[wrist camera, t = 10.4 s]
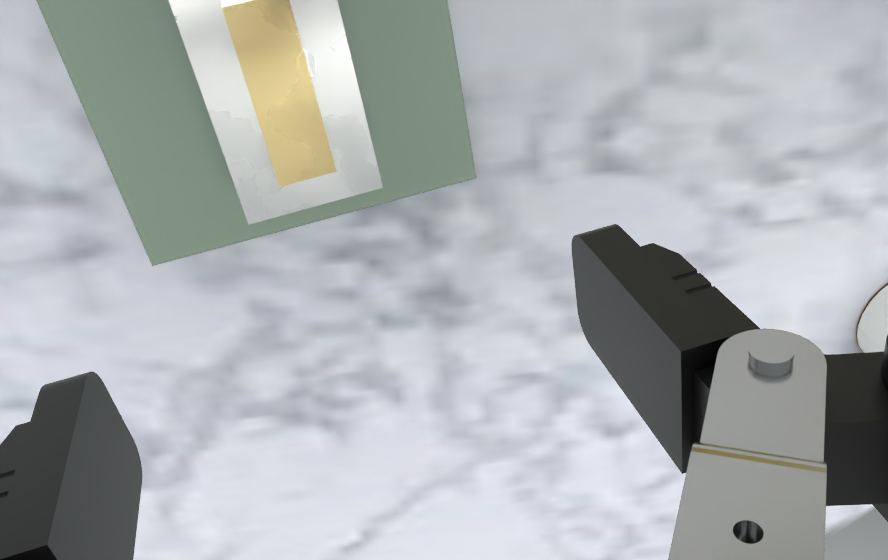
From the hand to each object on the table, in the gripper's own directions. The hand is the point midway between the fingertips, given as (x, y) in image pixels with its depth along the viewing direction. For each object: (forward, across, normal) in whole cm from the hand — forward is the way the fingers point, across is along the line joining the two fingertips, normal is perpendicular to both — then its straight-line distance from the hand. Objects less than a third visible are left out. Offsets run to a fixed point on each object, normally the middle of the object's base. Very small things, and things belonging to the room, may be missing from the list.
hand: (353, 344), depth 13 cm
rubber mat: (+20, 0, 0) cm, 20 cm away
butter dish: (+19, 0, 0) cm, 19 cm away
